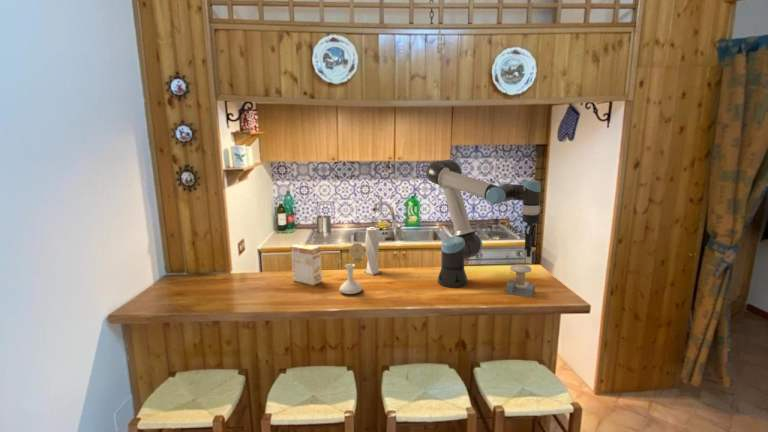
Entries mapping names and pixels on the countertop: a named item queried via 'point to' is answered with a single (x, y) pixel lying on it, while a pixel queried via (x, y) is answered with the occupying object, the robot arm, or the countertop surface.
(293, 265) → the coffeecake box
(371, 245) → the skyscraper
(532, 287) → the notch board
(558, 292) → the countertop surface
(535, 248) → the tan and grey block
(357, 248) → the flower in vase
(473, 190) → the robot arm
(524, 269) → the bobbin
